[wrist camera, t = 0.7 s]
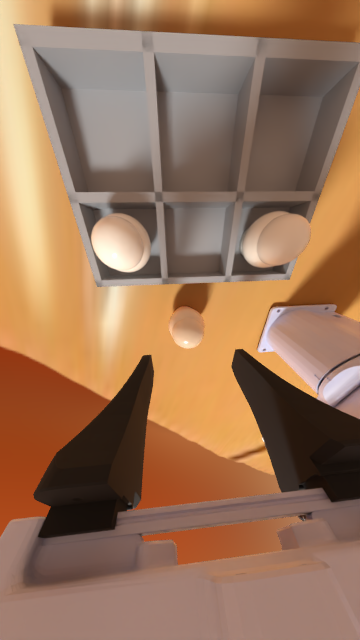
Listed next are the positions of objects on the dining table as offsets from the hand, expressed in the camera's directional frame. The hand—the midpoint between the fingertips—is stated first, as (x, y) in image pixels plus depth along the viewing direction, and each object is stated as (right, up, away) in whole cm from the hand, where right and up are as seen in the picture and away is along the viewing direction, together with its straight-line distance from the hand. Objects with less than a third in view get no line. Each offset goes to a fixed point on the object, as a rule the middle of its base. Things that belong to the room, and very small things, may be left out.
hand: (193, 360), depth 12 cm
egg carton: (0, +15, +1) cm, 15 cm away
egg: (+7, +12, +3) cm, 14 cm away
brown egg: (-1, +4, +7) cm, 8 cm away
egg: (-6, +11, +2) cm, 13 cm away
